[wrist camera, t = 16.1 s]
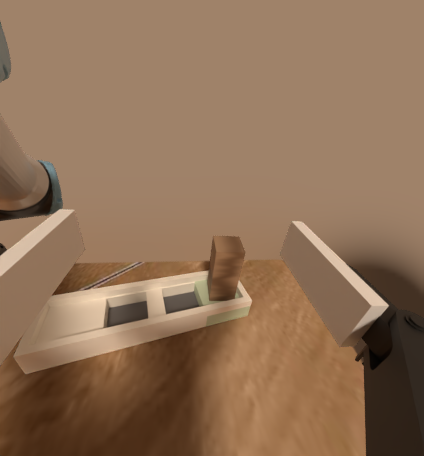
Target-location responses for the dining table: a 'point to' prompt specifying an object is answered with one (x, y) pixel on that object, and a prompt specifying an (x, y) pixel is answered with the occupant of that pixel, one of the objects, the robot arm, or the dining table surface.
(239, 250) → the walnut block
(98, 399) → the dining table surface
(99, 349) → the tray
